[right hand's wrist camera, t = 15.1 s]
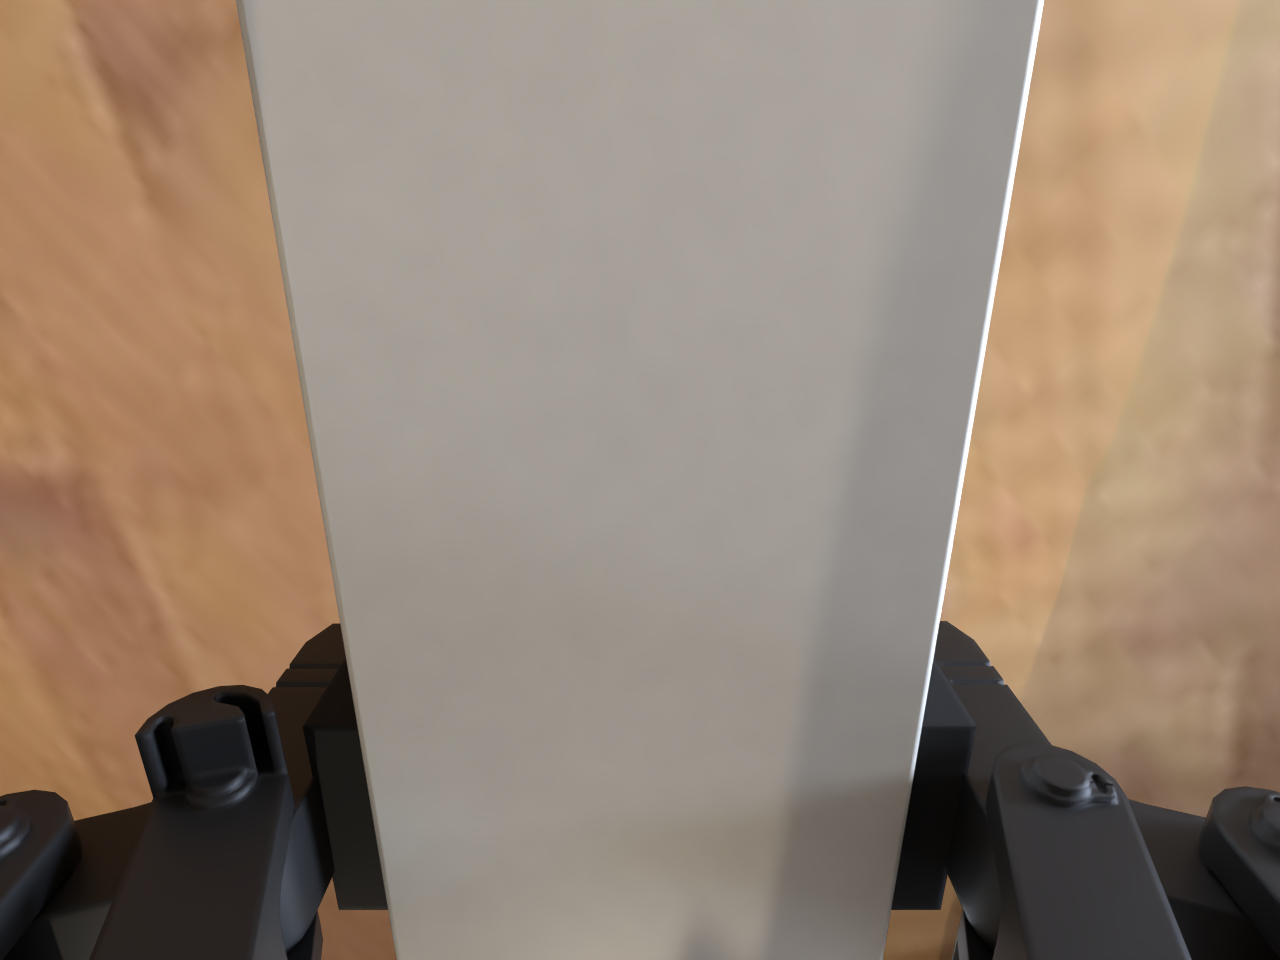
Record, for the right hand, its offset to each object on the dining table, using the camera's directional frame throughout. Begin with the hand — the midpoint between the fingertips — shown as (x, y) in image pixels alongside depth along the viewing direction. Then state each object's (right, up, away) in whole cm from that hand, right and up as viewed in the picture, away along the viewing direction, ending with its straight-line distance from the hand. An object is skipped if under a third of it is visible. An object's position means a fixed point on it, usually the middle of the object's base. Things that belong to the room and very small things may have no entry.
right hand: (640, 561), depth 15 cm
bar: (0, +34, -12) cm, 36 cm away
